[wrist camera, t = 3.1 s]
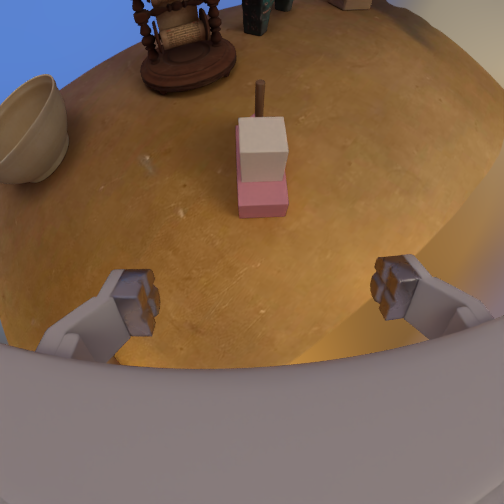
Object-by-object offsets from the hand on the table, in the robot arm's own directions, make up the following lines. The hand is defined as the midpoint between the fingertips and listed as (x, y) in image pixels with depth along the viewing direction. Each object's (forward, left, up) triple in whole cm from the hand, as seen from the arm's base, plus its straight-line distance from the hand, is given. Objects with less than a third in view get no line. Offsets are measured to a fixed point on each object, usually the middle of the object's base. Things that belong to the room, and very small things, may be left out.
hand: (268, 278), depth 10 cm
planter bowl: (+37, +10, -18) cm, 42 cm away
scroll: (+33, -16, -18) cm, 40 cm away
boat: (+10, -10, -18) cm, 22 cm away
